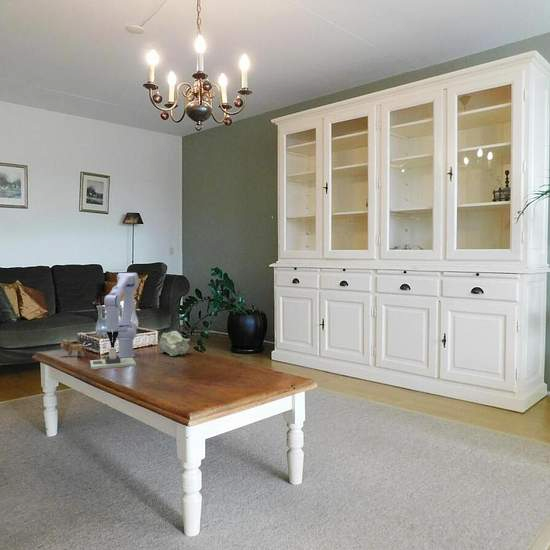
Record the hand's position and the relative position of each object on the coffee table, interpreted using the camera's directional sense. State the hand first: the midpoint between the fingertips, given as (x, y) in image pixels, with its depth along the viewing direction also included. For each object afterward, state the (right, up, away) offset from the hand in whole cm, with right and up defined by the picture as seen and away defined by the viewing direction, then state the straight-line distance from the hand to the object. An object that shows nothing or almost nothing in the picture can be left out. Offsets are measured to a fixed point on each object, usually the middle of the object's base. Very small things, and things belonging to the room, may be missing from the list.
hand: (112, 347), depth 236 cm
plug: (0, -7, +1) cm, 7 cm away
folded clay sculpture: (+25, -8, +26) cm, 36 cm away
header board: (0, -8, 0) cm, 8 cm away
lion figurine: (-26, -8, +18) cm, 32 cm away
